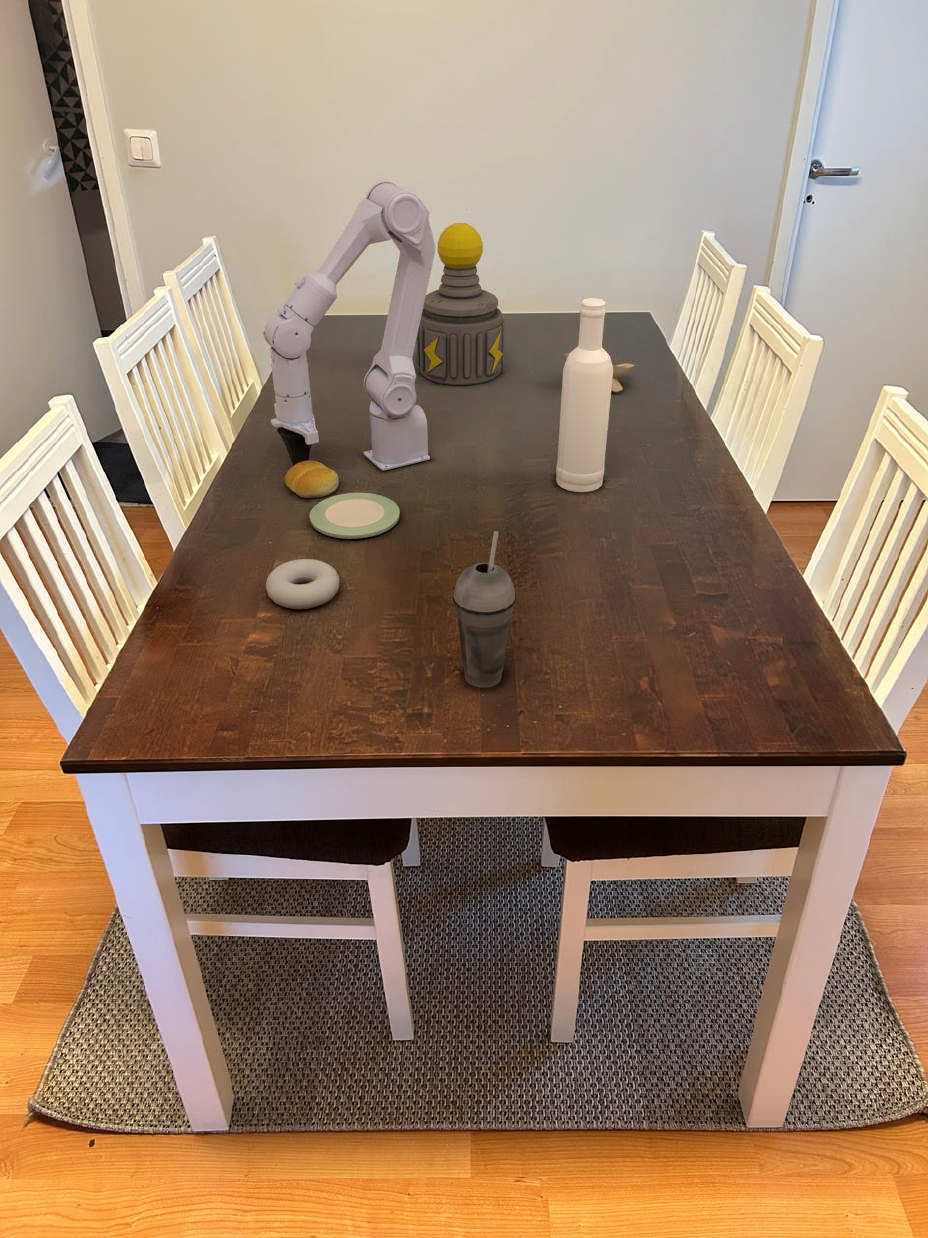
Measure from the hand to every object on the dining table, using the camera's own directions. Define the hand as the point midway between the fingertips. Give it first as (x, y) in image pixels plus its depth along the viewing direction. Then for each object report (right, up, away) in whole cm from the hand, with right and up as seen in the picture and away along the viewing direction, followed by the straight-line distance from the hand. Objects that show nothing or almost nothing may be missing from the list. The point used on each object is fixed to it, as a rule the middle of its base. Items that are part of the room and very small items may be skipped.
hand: (300, 468), depth 157 cm
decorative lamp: (+27, +28, +42) cm, 57 cm away
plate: (+11, -10, -12) cm, 19 cm away
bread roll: (+2, -4, -3) cm, 5 cm away
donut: (+6, -22, -29) cm, 37 cm away
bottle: (+47, -3, -1) cm, 47 cm away
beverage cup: (+30, -33, -44) cm, 63 cm away
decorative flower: (+56, +23, +35) cm, 70 cm away
